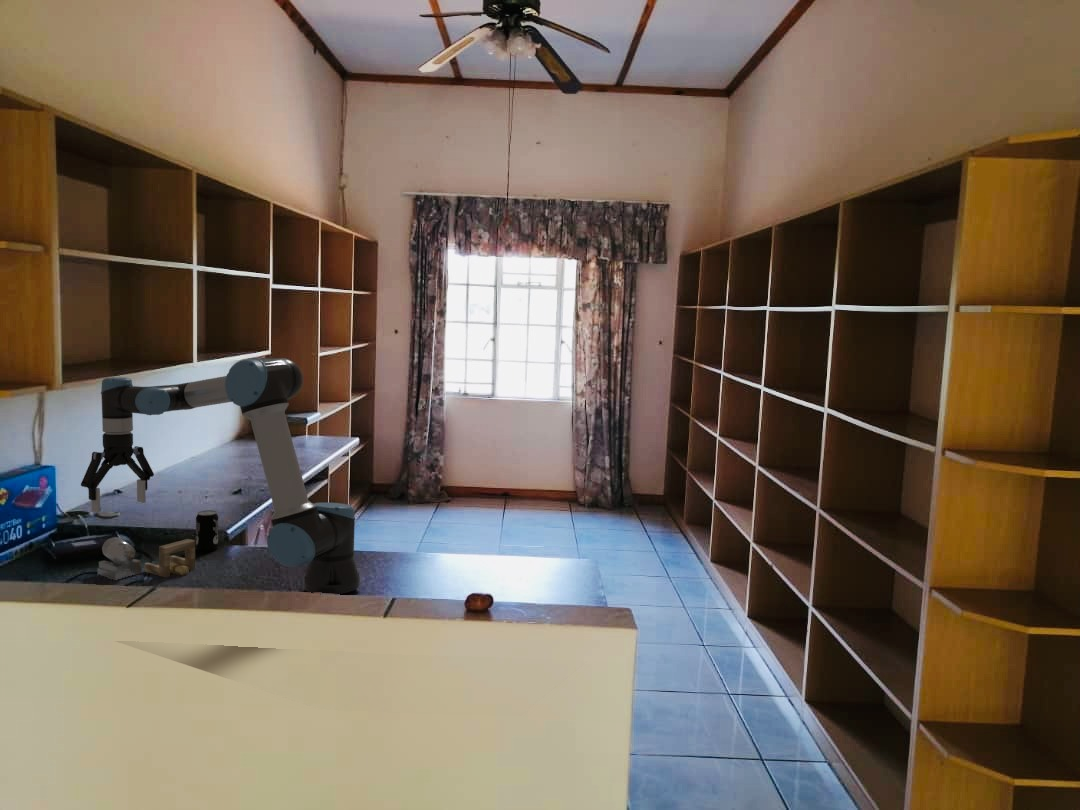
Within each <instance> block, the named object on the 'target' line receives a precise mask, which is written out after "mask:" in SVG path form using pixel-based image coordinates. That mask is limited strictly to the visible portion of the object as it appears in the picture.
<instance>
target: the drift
mask: <svg viewBox="0 0 1080 810" xmlns="http://www.w3.org/2000/svg"><path fill="white" fill-rule="evenodd" d="M156 565H159V561H158V562H157V564H156ZM189 572H190V569H189V568H188V567H187V566H183V565H178V564H174V563H170V574H174V575H178V576H182V577H185V576H187V575H188V574H189Z"/></svg>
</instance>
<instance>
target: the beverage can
mask: <svg viewBox="0 0 1080 810" xmlns="http://www.w3.org/2000/svg"><path fill="white" fill-rule="evenodd" d="M217 513H218V512H217V511H216V510H211V509H210V510H201V511H198V512H197V513H196V514H197V515H196V516H195V549H196V550H198V551H199V552H213V551H215V550H216V549H217V548H218V547H219V515H218V514H217Z"/></svg>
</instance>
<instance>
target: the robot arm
mask: <svg viewBox="0 0 1080 810" xmlns="http://www.w3.org/2000/svg"><path fill="white" fill-rule="evenodd" d="M303 384H304V378H303V372H302V370H301V368H300V367H299V366H298V365H297V363H295V362H294V361H292V360H290V359H288V358H285V357H268V358H267V357H266V358H261V357H260V358H257V357H252V358H248V359H247V358H246V359H242V360H239V361H237V362H235V363H234V364H233V365H231V367H230V368H229V370H228V372H227V374H226V375H224V376H219V377H212V378H208V379H207V378H206V379H202V380H195V381H190V382H185V383H178V384H169V385H168V384H165V385H155V386H153V385H152V386H150V385H149V386H140V385H139V386H136V385H135V386H134V385H133V380H132V378H130V377H121V376H119V377H117V376H115V377H105V378H104V379H102V381H101V392H100V395H101V421H102V424H101V425H102V432H103V434H102V447H103V450H102V452H97V451H93V452H91V460H90V462H89V464H88V467H87V469H86V470H85V471H86V472H85V473H84V476H83V478H82V480H81V482H80V486H81V487H83V488H87V489H88V490H87V491H88V500H89V501H90V502H91V512H96V513H100V512H101V489H100V487H99V485H100V484H101V482H102V481H103V480H104V478H105V477H106V475H107V474H108V472H109V471H110V470H111V469H112V468H113V467H118V466H119V467H120V466H126V465H127V467H129V469H130V470H131V471H132V472H133V473H134V474H135V475H136V476H137V477H138V478H139V479H136V502H138V503H141V504H143V503H144V504H145V503H146V491H147V490H148V489H149V488H148V481H150V479H151V477H152V478H153V477H154V475H155V473H154V471H153V468H152V467H151V466H150V464H149V462H148V459H147V458H146V455H145V453H144V447H143V446H134V434H133V430H134V422H133V421H134V420H133V414H140V415H146V416H159V415H163V414H164V413H167V412H173V411H175V412H176V411H184V410H185V411H186V410H193V409H196V408H201V407H206V406H208V407H209V406H213V405H220V404H225V403H226V404H227V403H232V404H234V405H236V406H237V407H238V406H239V408H240V412H241V414H242V416H243V417H244V418H246V419H248V420H249V421H250V424H251V428H252V431H253V435H254V439H255V443H256V446H257V448H258V449H257V450H258V453H259V458H260V460H261V464H262V468H263V472H264V475H265V479H266V483H267V487H268V490H269V495H270V497H271V502H272V505H273V508H274V511H273V514H272V515H271V517H270V522H271V525H272V527H271V528H270V530H269V531H268V535H267V537H266V544H267V549H268V552H269V553H270V555H271V557H272V558H273V559H274V560H275V561H276V562H277V563H280V564H281V565H282V566H285V567H288V568H295V567H299V566H302V565H307V568H306V570H305V575H304V576H303V580H302V583H303V584H302V585H303V587H302V588H303V589H304V591H306V592H308V593H310V592H322V593H339V594H338V595H340V594H346V593H350V592H353V591H355V590H357V589H358V588H359V587H360V586H361V576H360V574H359V571H358V568H357V565H356V564H357V563H356V560H355V524H356V523H355V521H356V518H355V508H354V507H353V506H352V505H349V504H347V503H341V502H315V503H313V502H311V501H310V500H309V498H308V494H307V490H306V486H305V483H304V479H303V475H302V471H301V468H300V464H299V461H298V457H297V453H296V450H295V446H294V442H293V437H292V435H291V431H290V428H289V423H288V419H287V416H286V413H285V412H286V410H287V408H288V407H289V405H290V403H289V400H291V399H292V398H295V397H296V396H297V395H298V393H299V392H300V391H301V389H302V388H303V387H302V386H303ZM133 446H134V447H133ZM133 455H134V457H135V458H136V460H137V462H138V464H139V465H140V466H139V465H138V464H137V463H136V461H135V459H134V458H133V457H132V456H133ZM102 460H103V461H102Z"/></svg>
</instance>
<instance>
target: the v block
mask: <svg viewBox="0 0 1080 810" xmlns="http://www.w3.org/2000/svg"><path fill="white" fill-rule="evenodd" d="M98 574H100V575H103V576H105V577H107V578H106V579H109V580H112V579H113V581H115V580H116V581H119V580H123V579H125V577H126V578H128V576H130V577H132V575H133V576H136V575H140V574H143V566H142V565H141V560H140V559H136V558H134V559H133V560H132V561H131V562H130V563H129V564H127V565H118V564H116V563H114V562H112V561H107V560H100V561H98V567H97V575H98ZM105 577H104V578H105ZM122 578H123V579H122ZM118 579H119V580H118Z"/></svg>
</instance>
